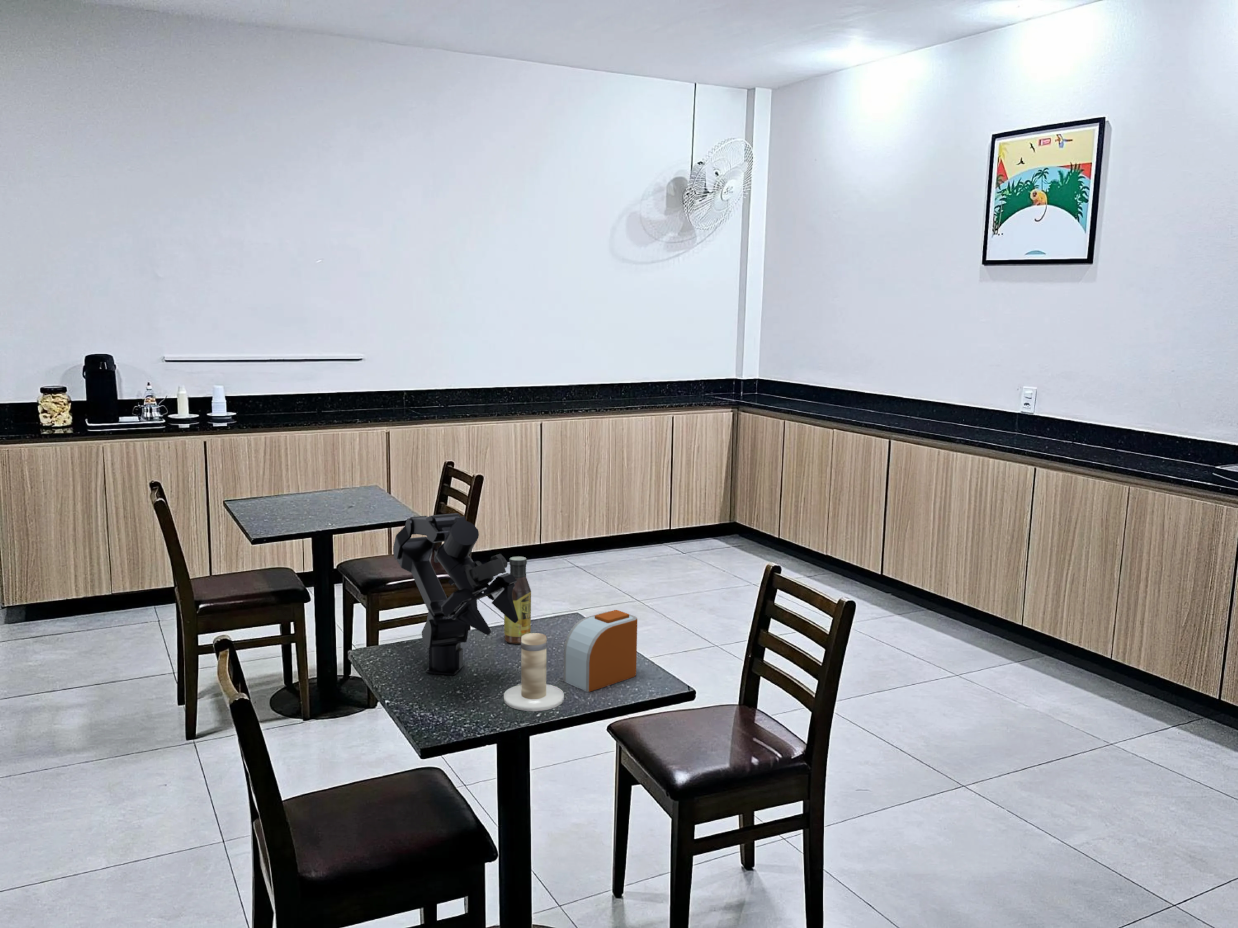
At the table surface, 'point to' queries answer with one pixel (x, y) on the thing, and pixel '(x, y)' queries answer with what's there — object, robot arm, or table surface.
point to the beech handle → (533, 665)
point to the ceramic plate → (520, 703)
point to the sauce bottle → (519, 602)
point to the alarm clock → (601, 650)
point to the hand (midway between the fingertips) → (503, 627)
